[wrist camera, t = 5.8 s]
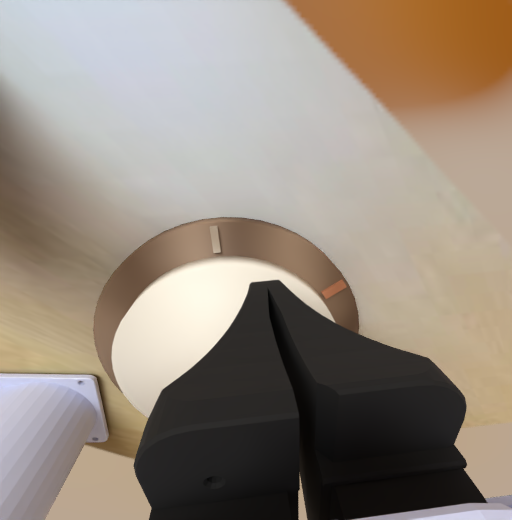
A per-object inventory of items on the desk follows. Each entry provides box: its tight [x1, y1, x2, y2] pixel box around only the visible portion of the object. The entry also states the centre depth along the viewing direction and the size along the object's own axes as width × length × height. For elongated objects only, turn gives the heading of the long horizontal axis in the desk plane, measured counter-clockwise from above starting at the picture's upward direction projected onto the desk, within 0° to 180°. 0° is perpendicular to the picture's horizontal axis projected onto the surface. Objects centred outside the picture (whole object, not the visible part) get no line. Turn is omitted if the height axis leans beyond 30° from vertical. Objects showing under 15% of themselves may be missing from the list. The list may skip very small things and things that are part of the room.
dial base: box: [93, 217, 359, 393], centre depth 18 cm, size 19×19×1 cm
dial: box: [111, 256, 336, 418], centre depth 15 cm, size 15×15×5 cm
